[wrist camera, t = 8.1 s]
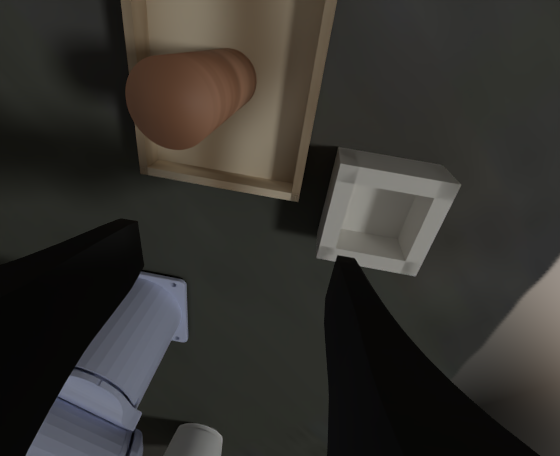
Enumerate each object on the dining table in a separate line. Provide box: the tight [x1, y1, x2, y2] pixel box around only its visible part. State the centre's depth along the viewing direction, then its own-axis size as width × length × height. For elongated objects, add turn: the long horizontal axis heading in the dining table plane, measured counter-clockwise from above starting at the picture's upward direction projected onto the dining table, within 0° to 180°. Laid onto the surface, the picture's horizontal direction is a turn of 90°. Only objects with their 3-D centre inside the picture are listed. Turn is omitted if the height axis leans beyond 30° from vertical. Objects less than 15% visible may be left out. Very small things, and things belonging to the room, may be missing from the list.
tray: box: [121, 0, 337, 202], centre depth 17 cm, size 10×12×2 cm
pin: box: [125, 48, 257, 150], centre depth 14 cm, size 3×3×8 cm
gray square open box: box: [316, 147, 461, 276], centre depth 19 cm, size 6×6×3 cm
